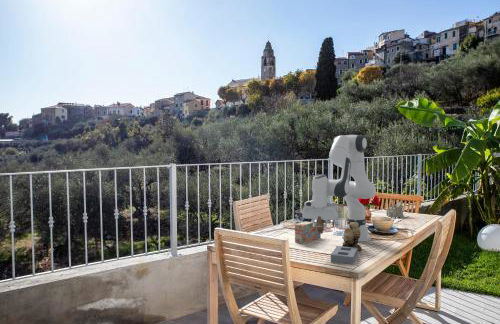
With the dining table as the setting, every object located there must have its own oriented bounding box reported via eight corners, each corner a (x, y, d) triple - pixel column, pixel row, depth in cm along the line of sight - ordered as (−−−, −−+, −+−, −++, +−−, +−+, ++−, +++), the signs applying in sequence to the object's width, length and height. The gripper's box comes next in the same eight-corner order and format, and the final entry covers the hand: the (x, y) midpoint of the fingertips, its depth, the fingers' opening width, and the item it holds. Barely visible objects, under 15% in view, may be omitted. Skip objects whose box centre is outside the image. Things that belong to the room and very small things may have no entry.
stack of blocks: (313, 236, 276) (313, 219, 275) (320, 238, 271) (320, 220, 271) (294, 242, 260) (294, 224, 259) (302, 244, 256) (302, 225, 255)
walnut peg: (317, 232, 231) (317, 215, 230) (324, 232, 229) (324, 215, 229) (315, 233, 227) (315, 216, 226) (323, 234, 225) (323, 216, 225)
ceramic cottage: (400, 214, 357) (399, 198, 355) (406, 218, 340) (405, 201, 339) (382, 215, 358) (382, 199, 357) (387, 219, 341) (386, 202, 340)
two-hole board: (336, 252, 235) (336, 245, 235) (357, 254, 230) (357, 247, 230) (330, 262, 216) (330, 254, 216) (353, 264, 212) (353, 257, 212)
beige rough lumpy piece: (346, 245, 252) (347, 218, 252) (365, 248, 246) (365, 220, 245) (336, 251, 237) (336, 223, 237) (355, 254, 231) (356, 225, 230)
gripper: (339, 202, 226) (339, 226, 227) (304, 201, 234) (304, 224, 235) (337, 204, 220) (337, 229, 221) (301, 203, 228) (301, 226, 229)
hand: (320, 226), depth 228 cm, fingers closed on walnut peg, 4 cm apart
